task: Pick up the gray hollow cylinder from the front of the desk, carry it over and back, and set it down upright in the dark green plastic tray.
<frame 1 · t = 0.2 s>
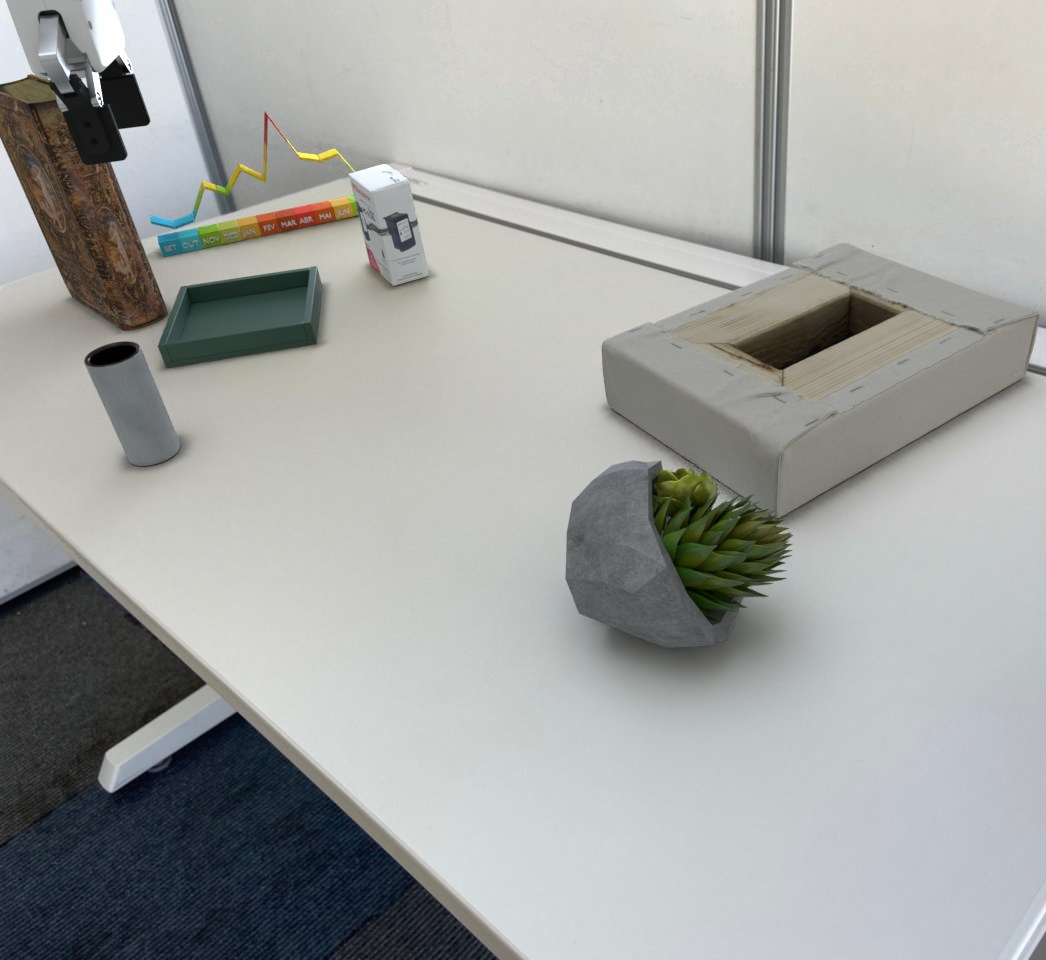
hand: (119, 143, 78), 26 cm above the table, tool pointing down, fingers open, 9 cm apart
gray hollow cylinder: (155, 454, 90), on the table
box: (815, 396, 90), on the table
book: (121, 307, 117), on the table
potted plant: (682, 611, 68), on the table
chart: (279, 230, 135), on the table
ink box: (399, 272, 120), on the table
tray: (249, 324, 110), on the table
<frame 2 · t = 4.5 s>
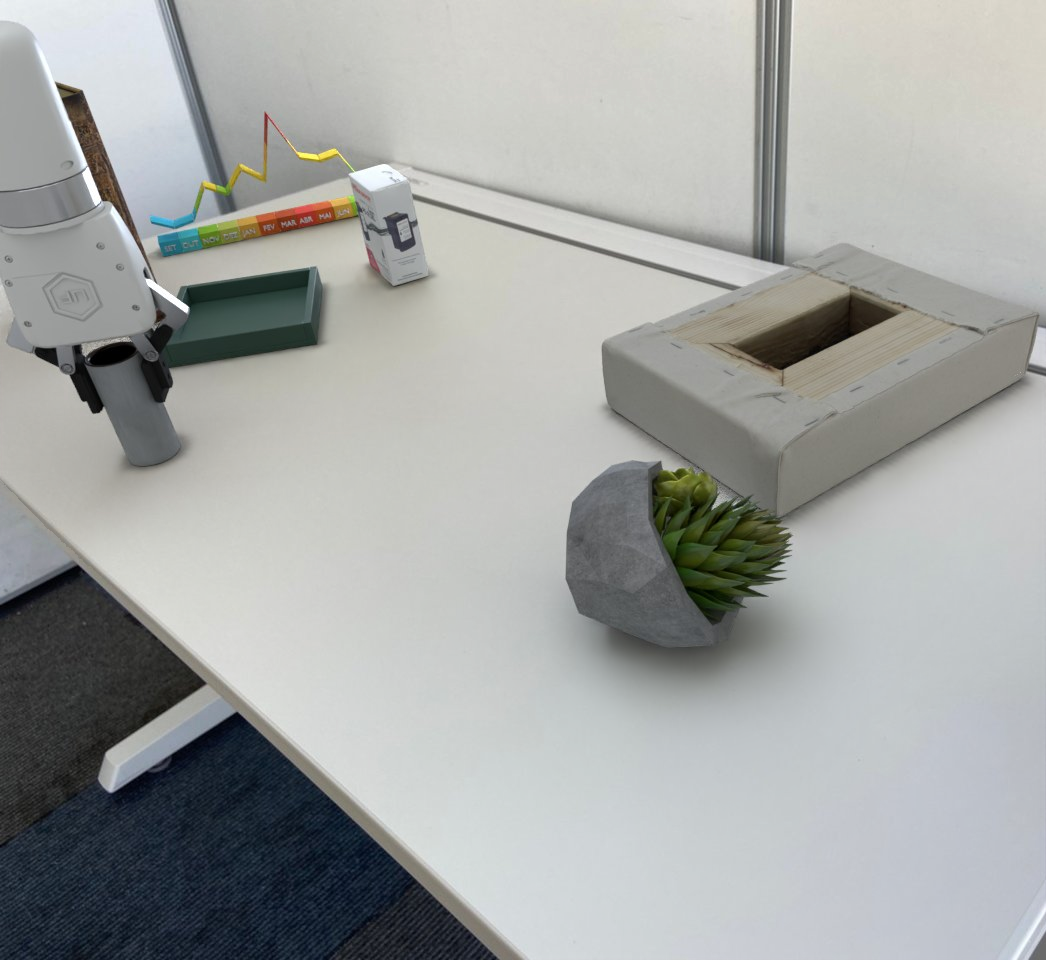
hand: (131, 398, 86), 6 cm above the table, tool pointing down, fingers closed on gray hollow cylinder, 4 cm apart
gray hollow cylinder: (155, 454, 90), on the table, touching gripper
everything else where it was.
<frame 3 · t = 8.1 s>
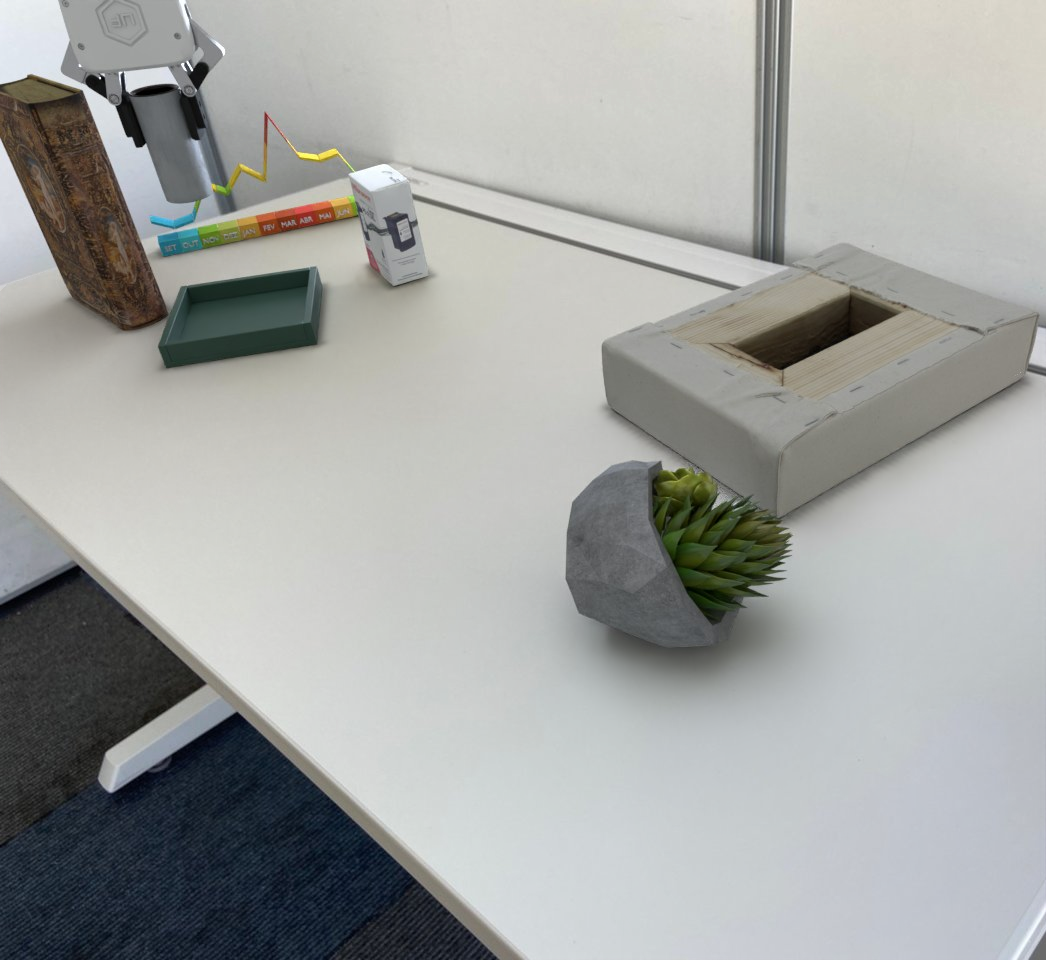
hand: (170, 138, 95), 22 cm above the table, tool pointing down, fingers closed on gray hollow cylinder, 4 cm apart
gray hollow cylinder: (190, 198, 98), point 16 cm above the table, touching gripper
everything else where it was.
when the fingers open (6 cm above the table, at t = 12.1 s): gray hollow cylinder stays where it is, resting on tray.
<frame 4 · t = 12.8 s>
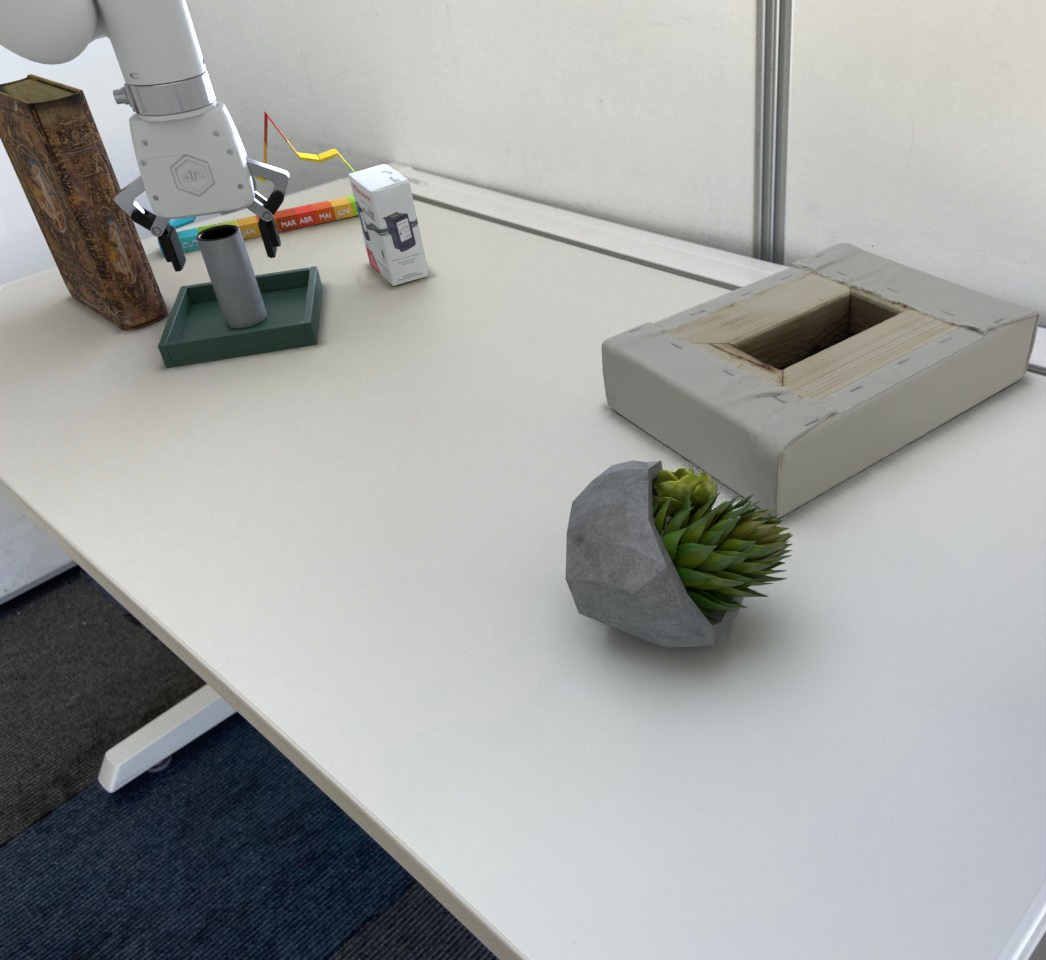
hand: (227, 259, 106), 8 cm above the table, tool pointing down, fingers open, 9 cm apart
gray hollow cylinder: (247, 321, 110), resting on tray
everything else where it was.
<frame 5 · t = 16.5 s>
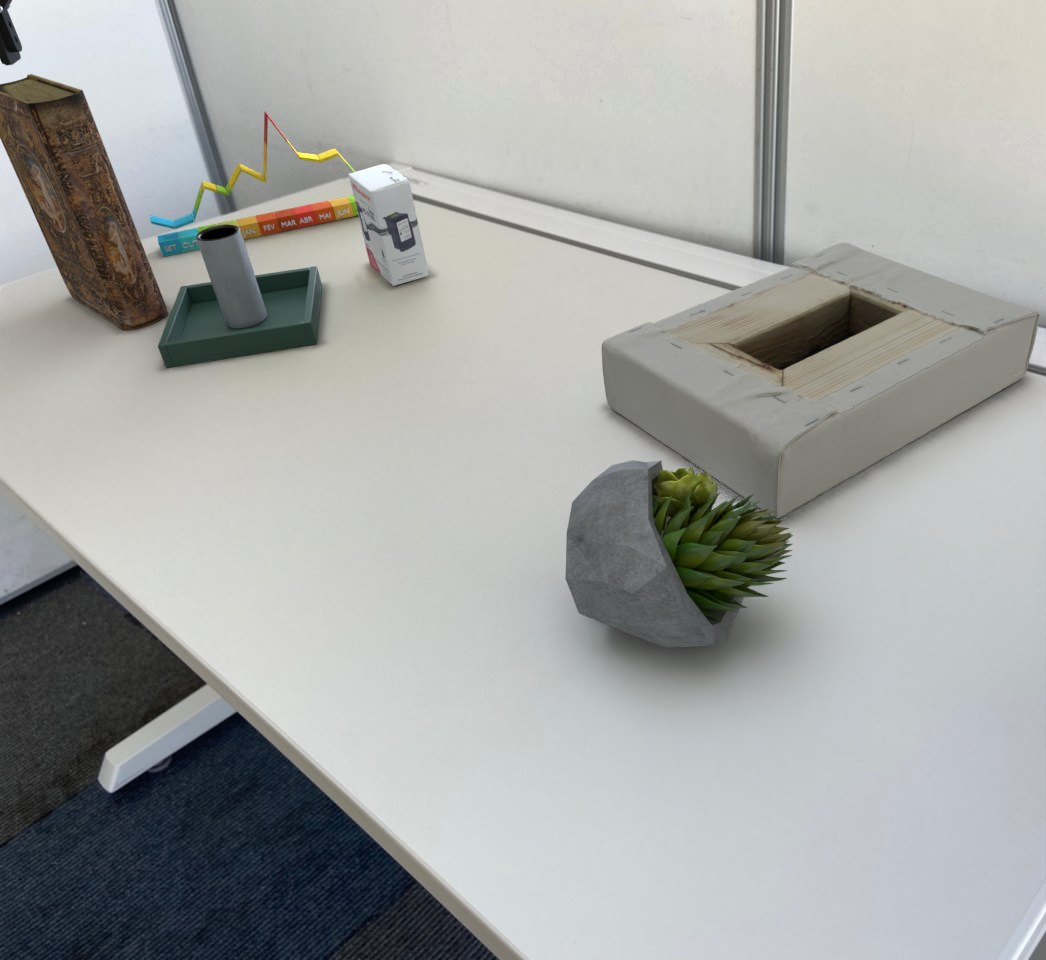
nothing on the table moved.
at the end: gray hollow cylinder inside the target area in the tray (0.1 cm from its centre), point 0.4 cm above the tray's base; gray hollow cylinder tilted 0°; the gripper is holding nothing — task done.
